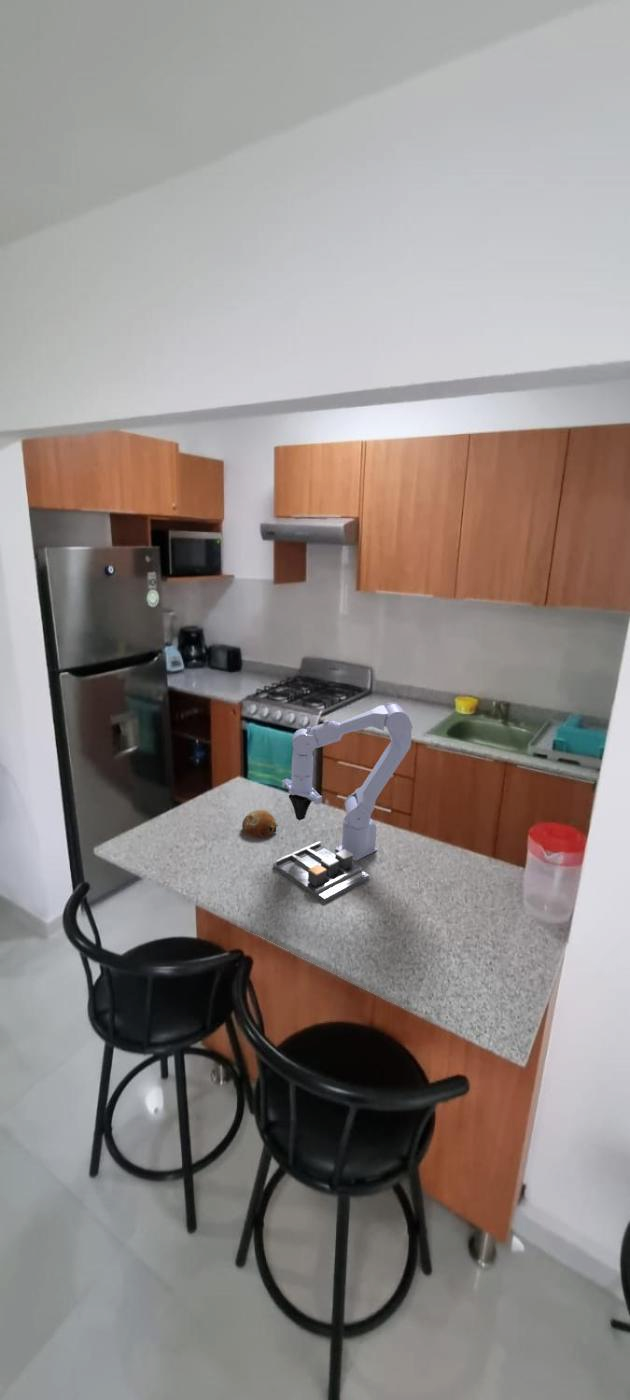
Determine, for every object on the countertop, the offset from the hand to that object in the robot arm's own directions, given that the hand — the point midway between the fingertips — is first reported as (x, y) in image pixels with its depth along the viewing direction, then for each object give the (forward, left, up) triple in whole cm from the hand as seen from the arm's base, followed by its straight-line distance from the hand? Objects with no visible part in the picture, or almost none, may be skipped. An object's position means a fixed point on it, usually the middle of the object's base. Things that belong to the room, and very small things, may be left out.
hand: (300, 818), depth 155 cm
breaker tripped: (+8, +16, -8) cm, 20 cm away
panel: (+3, +12, -10) cm, 16 cm away
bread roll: (+2, -16, -10) cm, 19 cm away
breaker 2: (-2, +15, -8) cm, 17 cm away
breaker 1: (+3, +15, -8) cm, 17 cm away
